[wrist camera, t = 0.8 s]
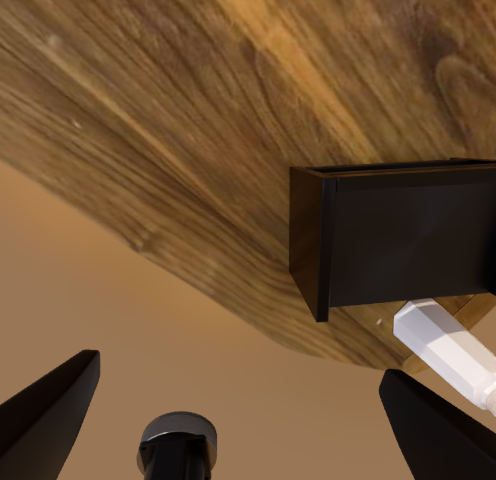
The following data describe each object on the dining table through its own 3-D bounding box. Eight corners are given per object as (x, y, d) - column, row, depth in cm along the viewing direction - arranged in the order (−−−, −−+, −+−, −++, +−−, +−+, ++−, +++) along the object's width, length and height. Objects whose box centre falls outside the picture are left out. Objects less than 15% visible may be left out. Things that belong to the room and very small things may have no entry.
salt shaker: (452, 301, 27) (594, 398, 17) (428, 346, 29) (543, 459, 19) (405, 291, 26) (524, 387, 16) (382, 338, 28) (477, 452, 18)
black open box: (438, 259, 26) (521, 303, 18) (289, 271, 25) (316, 323, 17) (458, 157, 23) (567, 163, 15) (289, 166, 22) (323, 177, 14)
